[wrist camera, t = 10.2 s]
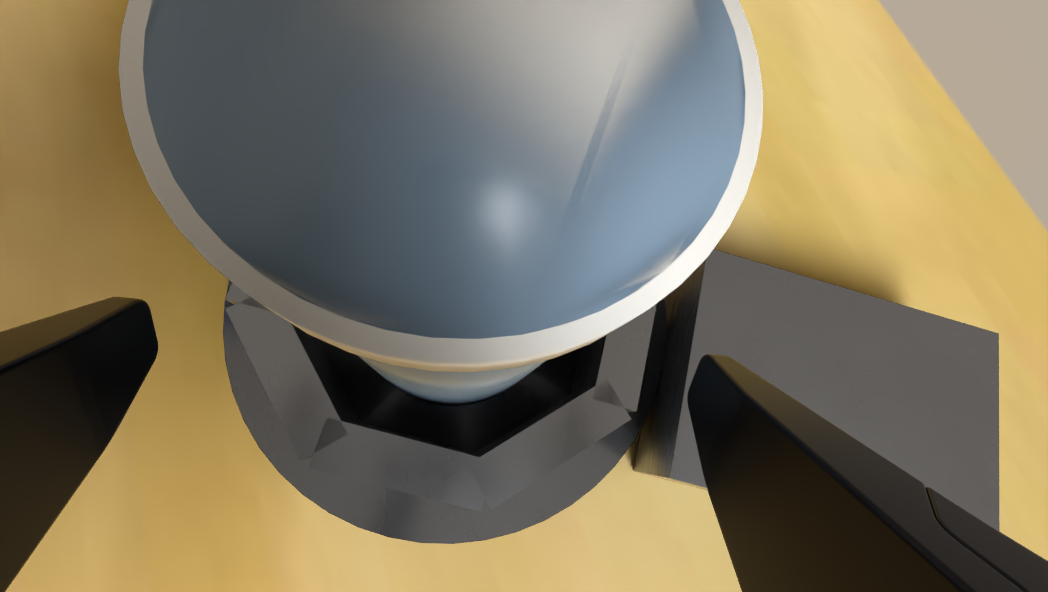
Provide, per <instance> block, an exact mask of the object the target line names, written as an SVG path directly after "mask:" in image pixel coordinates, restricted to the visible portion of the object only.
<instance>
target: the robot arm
mask: <svg viewBox="0 0 1048 592" xmlns="http://www.w3.org/2000/svg"><path fill="white" fill-rule="evenodd" d="M157 352H158V341H157V337H156V333H155V328H154V324H153V320H152V316H151V311H150V308H149V306H148V304H147V303H146V302H145V301H143V300H141V299H134V298H124V297H112V298H108V299H105V300H102V301H98V302H95V303H92V304H89V305H85V306H82V307H79V308H76V309H73V310H69V311H66V312H63V313H60V314H57V315H53V316H50V317H47V318H44V319H41V320H37V321H34V322H31V323H28V324H25V325H21V326H18V327H15V328H12V329H9V330H5V331H2V332H0V592H5V591H6V590H7V588H8V587H9V586H10V584H11V583H12V581H13V580H14V578H15V577H16V576H17V574H18V573H19V571H20V570H21V568H22V567H23V566H24V564H25V563H26V561H27V560H28V558H29V557H30V556H31V554H32V553H33V551H34V550H35V548H36V547H37V546H38V544H39V543H40V541H41V540H42V538H43V537H44V536H45V534H46V533H47V531H48V530H49V528H50V527H51V526H52V524H53V523H54V521H55V520H56V519H57V517H58V516H59V514H60V513H61V511H62V510H63V509H64V507H65V506H66V504H67V503H68V501H69V500H70V499H71V497H72V496H73V494H74V493H75V491H76V490H77V489H78V487H79V486H80V484H81V483H82V481H83V480H84V479H85V477H86V476H87V474H88V473H89V471H90V470H91V469H92V467H93V466H94V464H95V463H96V461H97V460H98V459H99V457H100V456H101V454H102V453H103V451H104V450H105V448H106V447H107V445H108V444H109V442H110V440H111V439H112V437H113V435H114V434H115V432H116V430H117V429H118V427H119V425H120V423H121V421H122V420H123V418H124V416H125V414H126V412H127V410H128V409H129V407H130V405H131V403H132V401H133V399H134V398H135V396H136V394H137V392H138V390H139V388H140V387H141V385H142V383H143V381H144V379H145V377H146V376H147V374H148V372H149V370H150V368H151V366H152V365H153V363H154V361H155V359H156V356H157ZM687 403H688V408H689V413H690V417H691V422H692V426H693V431H694V436H695V440H696V445H697V449H698V454H699V458H700V463H701V468H702V472H703V476H704V479H705V483H706V486H707V489H708V493H709V496H710V499H711V502H712V505H713V508H714V511H715V513H716V516H717V519H718V522H719V525H720V528H721V531H722V534H723V537H724V540H725V543H726V546H727V549H728V552H729V555H730V558H731V561H732V564H733V566H734V569H735V572H736V575H737V578H738V581H739V584H740V587H741V590H742V592H1048V561H1047V560H1045V559H1044V558H1042V557H1040V556H1039V555H1037V554H1035V553H1034V552H1032V551H1030V550H1029V549H1027V548H1025V547H1024V546H1022V545H1020V544H1019V543H1017V542H1015V541H1014V540H1012V539H1011V538H1009V537H1007V536H1006V535H1004V534H1002V533H1001V532H999V531H997V530H996V529H994V528H993V527H991V526H989V525H988V524H986V523H985V522H983V521H982V520H980V519H978V518H977V517H975V516H974V515H972V514H971V513H969V512H967V511H966V510H964V509H963V508H961V507H960V506H958V505H956V504H955V503H953V502H952V501H950V500H949V499H947V498H946V497H944V496H943V495H941V494H940V493H938V492H937V491H935V490H934V489H932V488H930V487H925V485H924V483H923V482H921V481H919V480H918V479H916V478H915V477H913V476H912V475H910V474H909V473H907V472H906V471H904V470H903V469H901V468H900V467H898V466H896V465H895V464H893V463H892V462H890V461H889V460H887V459H886V458H884V457H883V456H881V455H880V454H878V453H877V452H875V451H873V450H872V449H870V448H869V447H867V446H866V445H864V444H863V443H861V442H860V441H858V440H857V439H855V438H854V437H852V436H851V435H849V434H847V433H846V432H844V431H843V430H841V429H840V428H838V427H837V426H835V425H834V424H832V423H831V422H829V421H828V420H826V419H824V418H823V417H821V416H820V415H818V414H817V413H815V412H814V411H812V410H811V409H809V408H808V407H806V406H805V405H803V404H801V403H800V402H798V401H797V400H795V399H794V398H792V397H791V396H789V395H788V394H786V393H785V392H783V391H782V390H780V389H779V388H777V387H775V386H774V385H772V384H771V383H769V382H768V381H766V380H765V379H763V378H762V377H760V376H759V375H757V374H756V373H754V372H752V371H751V370H749V369H748V368H746V367H745V366H743V365H742V364H740V363H739V362H737V361H736V360H734V359H733V358H731V357H729V356H726V355H717V354H706V355H704V356H703V357H702V358H701V359H700V361H699V364H698V366H697V369H696V372H695V374H694V377H693V379H692V382H691V385H690V387H689V390H688V395H687Z"/></svg>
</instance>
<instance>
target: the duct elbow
mask: <svg viewBox="0 0 1048 592" xmlns="http://www.w3.org/2000/svg"><path fill="white" fill-rule="evenodd" d="M119 79H120V90H121V100H122V110H123V114H124V117H125V121H126V125H127V128H128V132H129V136H130V139H131V143H132V147H133V150H134V153H135V155H136V157H137V159H138V161H139V164H140V166H141V168H142V170H143V172H144V175H145V177H146V179H147V181H148V183H149V186H150V188H151V190H152V191H153V193H154V194H155V196H156V197H157V199H158V200H159V202H160V204H161V205H162V207H163V208H164V210H165V211H166V213H167V214H168V216H169V217H170V219H171V220H172V222H173V223H174V225H175V226H176V228H177V229H178V230H179V231H180V232H181V233H182V234H183V235H184V236H185V238H186V239H187V240H188V241H189V242H190V243H191V244H192V245H193V246H194V248H195V249H196V250H197V251H198V252H199V253H200V254H201V255H202V256H203V257H204V259H205V260H206V261H207V262H208V263H209V264H211V265H212V266H213V267H214V268H215V269H217V270H218V271H219V272H220V273H221V274H223V275H224V276H225V277H226V278H228V279H229V280H230V281H231V282H232V283H234V284H235V285H236V286H237V287H238V288H240V289H241V290H242V291H243V292H244V293H246V294H247V295H249V296H250V297H252V298H253V299H255V300H256V301H258V302H259V303H261V304H262V305H263V306H265V307H266V308H268V309H269V310H271V311H272V312H274V313H275V314H277V315H278V316H280V317H282V318H283V319H285V320H287V321H288V322H290V323H291V324H293V325H295V326H296V327H298V328H300V329H301V330H303V331H304V332H306V333H308V334H309V335H311V336H313V337H316V338H318V339H320V340H322V341H325V342H327V343H329V344H331V345H334V346H336V347H338V348H340V349H343V350H345V351H347V352H349V353H353V354H356V355H358V356H359V357H360V358H361V359H362V360H364V361H365V362H366V363H367V364H368V365H370V366H371V367H372V368H373V369H374V370H376V371H377V372H378V373H379V374H380V375H382V376H383V377H384V378H385V379H386V380H387V381H389V382H390V383H391V384H392V385H394V386H395V387H396V388H397V389H399V390H400V391H402V392H404V393H405V394H407V395H409V396H411V397H413V398H415V399H418V400H420V401H423V402H427V403H430V404H435V405H442V406H465V405H472V404H476V403H480V402H484V401H486V400H489V399H491V398H494V397H496V396H498V395H500V394H501V393H503V392H505V391H507V390H508V389H509V388H511V387H512V386H513V385H515V384H516V383H517V382H519V381H520V380H521V379H523V378H524V377H525V376H527V375H528V374H529V373H530V372H532V371H533V370H534V369H536V368H537V367H538V366H540V365H541V364H542V363H544V362H545V361H546V360H549V359H553V358H556V357H558V356H561V355H564V354H566V353H569V352H571V351H574V350H576V349H579V348H581V347H584V346H586V345H589V344H591V343H593V342H595V341H596V340H598V339H600V338H602V337H603V336H605V335H607V334H609V333H611V332H612V331H614V330H616V329H618V328H619V327H621V326H623V325H625V324H626V323H628V322H629V321H631V320H633V319H634V318H636V317H637V316H639V315H640V314H642V313H644V312H645V311H647V310H648V309H650V308H651V307H652V306H654V305H655V304H656V303H658V302H659V301H660V300H662V299H663V298H664V297H665V296H667V295H668V294H669V293H671V292H672V291H673V290H675V289H676V288H677V287H679V286H680V285H681V284H682V283H683V282H684V281H685V280H686V279H687V278H688V277H689V276H690V275H691V274H692V273H693V272H694V271H695V270H696V269H697V268H698V267H699V265H700V264H701V263H702V262H703V261H704V260H705V259H706V258H707V257H708V256H709V255H710V253H711V252H712V250H713V249H714V248H715V246H716V245H717V243H718V242H719V241H720V239H721V238H722V236H723V235H724V234H725V232H726V231H727V229H728V228H729V227H730V225H731V223H732V221H733V219H734V217H735V215H736V213H737V211H738V209H739V207H740V205H741V203H742V201H743V199H744V197H745V195H746V192H747V189H748V186H749V183H750V180H751V177H752V174H753V171H754V168H755V165H756V162H757V156H758V150H759V144H760V138H761V132H762V116H763V90H762V82H761V74H760V65H759V59H758V55H757V52H756V48H755V44H754V40H753V36H752V32H751V29H750V26H749V24H748V21H747V19H746V16H745V14H744V11H743V9H742V6H741V4H740V1H739V0H129V1H128V5H127V10H126V14H125V18H124V22H123V26H122V30H121V43H120V57H119Z"/></svg>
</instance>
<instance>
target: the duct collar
mask: <svg viewBox="0 0 1048 592" xmlns="http://www.w3.org/2000/svg"><path fill="white" fill-rule="evenodd" d="M223 337H224V349H225V361H226V366H227V370H228V375H229V379H230V383H231V388H232V392H233V394H234V397H235V399H236V402H237V405H238V407H239V410H240V412H241V415H242V417H243V420H244V422H245V424H246V425H247V427H248V429H249V430H250V432H251V434H252V436H253V437H254V439H255V441H256V443H257V444H258V446H259V448H260V449H261V450H262V452H263V453H264V454H265V455H266V457H267V458H268V459H269V460H270V462H271V463H272V464H273V465H274V467H275V468H276V469H277V470H278V472H279V473H280V474H281V475H282V476H283V477H284V478H286V479H287V480H288V481H289V482H290V483H291V484H292V485H293V486H294V487H295V488H296V489H297V490H298V491H299V492H300V493H302V494H303V495H304V496H306V497H307V498H308V499H310V500H311V501H313V502H314V503H316V504H317V505H319V506H320V507H321V508H323V509H324V510H326V511H327V512H329V513H331V514H333V515H335V516H337V517H339V518H341V519H343V520H345V521H347V522H349V523H351V524H353V525H355V526H357V527H359V528H362V529H365V530H368V531H371V532H375V533H378V534H381V535H384V536H387V537H391V538H397V539H402V540H408V541H414V542H420V543H447V544H455V543H464V542H473V541H482V540H487V539H491V538H495V537H499V536H503V535H507V534H511V533H515V532H518V531H520V530H522V529H525V528H527V527H530V526H532V525H535V524H537V523H540V522H542V521H544V520H546V519H548V518H550V517H551V516H553V515H555V514H557V513H558V512H560V511H562V510H563V509H565V508H567V507H569V506H570V505H572V504H573V503H574V502H576V501H577V500H578V499H580V498H581V497H582V496H583V495H585V494H586V493H587V492H589V491H590V490H591V489H592V488H594V487H595V486H596V485H597V484H598V483H599V482H600V481H601V480H602V479H603V478H604V477H605V476H606V475H607V474H608V473H609V472H610V471H611V470H612V469H613V468H614V467H615V466H616V464H617V463H618V462H619V460H620V459H621V457H622V456H623V455H624V453H625V452H626V451H627V449H628V448H629V447H630V445H631V444H632V443H633V441H634V439H635V438H636V436H637V434H638V432H639V430H640V429H641V433H640V439H639V444H638V449H637V455H636V460H635V466H634V471H636V472H640V473H644V474H648V475H651V476H655V477H659V478H663V479H666V480H670V481H674V482H678V483H682V484H685V485H689V486H693V487H697V488H700V489H704V490H708V489H707V486H706V483H705V479H704V476H703V472H702V468H701V463H700V458H699V454H698V449H697V445H696V440H695V436H694V431H693V426H692V422H691V417H690V413H689V408H688V403H687V395H688V390H689V387H690V385H691V382H692V379H693V377H694V374H695V372H696V369H697V366H698V364H699V361H700V359H701V358H702V357H703V356H704V355H706V354H717V355H726V356H729V357H731V358H733V359H734V360H736V361H737V362H739V363H740V364H742V365H743V366H745V367H746V368H748V369H749V370H751V371H752V372H754V373H756V374H757V375H759V376H760V377H762V378H763V379H765V380H766V381H768V382H769V383H771V384H772V385H774V386H775V387H777V388H779V389H780V390H782V391H783V392H785V393H786V394H788V395H789V396H791V397H792V398H794V399H795V400H797V401H798V402H800V403H801V404H803V405H805V406H806V407H808V408H809V409H811V410H812V411H814V412H815V413H817V414H818V415H820V416H821V417H823V418H824V419H826V420H828V421H829V422H831V423H832V424H834V425H835V426H837V427H838V428H840V429H841V430H843V431H844V432H846V433H847V434H849V435H851V436H852V437H854V438H855V439H857V440H858V441H860V442H861V443H863V444H864V445H866V446H867V447H869V448H870V449H872V450H873V451H875V452H877V453H878V454H880V455H881V456H883V457H884V458H886V459H887V460H889V461H890V462H892V463H893V464H895V465H896V466H898V467H900V468H901V469H903V470H904V471H906V472H907V473H909V474H910V475H912V476H913V477H915V478H916V479H918V480H919V481H921V482H923V483H924V485H925V487H930V488H932V489H934V490H935V491H937V492H938V493H940V494H941V495H943V496H944V497H946V498H947V499H949V500H950V501H952V502H953V503H955V504H956V505H958V506H960V507H961V508H963V509H964V510H966V511H967V512H969V513H971V514H972V515H974V516H975V517H977V518H978V519H980V520H982V521H983V522H985V523H986V524H988V525H989V526H991V527H993V528H994V529H996V530H997V531H999V334H998V333H995V332H992V331H988V330H985V329H981V328H978V327H975V326H971V325H968V324H965V323H961V322H958V321H954V320H951V319H948V318H944V317H941V316H938V315H934V314H931V313H927V312H924V311H921V310H917V309H914V308H911V307H907V306H904V305H900V304H897V303H894V302H890V301H887V300H884V299H880V298H877V297H873V296H870V295H867V294H863V293H860V292H856V291H853V290H850V289H846V288H843V287H840V286H836V285H833V284H829V283H826V282H823V281H819V280H816V279H813V278H809V277H806V276H802V275H799V274H796V273H792V272H789V271H786V270H782V269H779V268H775V267H772V266H769V265H765V264H762V263H758V262H755V261H752V260H748V259H745V258H742V257H738V256H735V255H731V254H728V253H725V252H721V251H718V250H715V249H713V250H712V252H711V253H710V255H709V256H708V257H707V258H706V259H705V260H704V261H703V262H702V263H701V264H700V265H699V267H698V268H697V269H696V270H695V271H694V272H693V273H692V274H691V275H690V276H689V277H688V278H687V279H686V280H685V281H684V282H683V283H682V284H681V285H680V286H679V287H677V288H676V289H675V290H673V291H672V292H671V293H669V294H668V295H667V296H666V297H665V299H664V298H663V299H662V300H660V301H659V302H658V303H656V304H655V305H654V306H652V307H651V308H650V309H648V310H647V311H645V312H644V313H642V314H640V315H639V316H637V317H636V318H634V319H633V320H631V321H629V322H628V323H626V324H625V325H623V326H621V327H619V328H618V329H616V330H614V331H612V332H611V333H609V334H607V335H605V336H603V337H602V338H600V339H598V340H596V341H595V342H593V343H591V344H589V345H586V346H584V347H581V348H579V349H576V350H574V351H571V352H569V353H566V354H564V355H561V356H558V357H556V358H553V359H549V360H546V361H545V362H544V363H542V364H541V365H540V366H538V367H537V368H536V369H534V370H533V371H532V372H530V373H529V374H528V375H527V376H525V377H524V378H523V379H521V380H520V381H519V382H517V383H516V384H515V385H513V386H512V387H511V388H509V389H508V390H507V391H505V392H503V393H501V394H500V395H498V396H496V397H494V398H491V399H489V400H486V401H484V402H480V403H476V404H472V405H465V406H442V405H435V404H430V403H427V402H423V401H420V400H418V399H415V398H413V397H411V396H409V395H407V394H405V393H404V392H402V391H400V390H399V389H397V388H396V387H395V386H394V385H392V384H391V383H390V382H389V381H387V380H386V379H385V378H384V377H383V376H382V375H380V374H379V373H378V372H377V371H376V370H374V369H373V368H372V367H371V366H370V365H368V364H367V363H366V362H365V361H364V360H362V359H361V358H360V357H359V356H358V355H356V354H353V353H349V352H347V351H345V350H343V349H340V348H338V347H336V346H334V345H331V344H329V343H327V342H325V341H322V340H320V339H318V338H316V337H313V336H311V335H309V334H308V333H306V332H304V331H303V330H301V329H300V328H298V327H296V326H295V325H293V324H291V323H290V322H288V321H287V320H285V319H283V318H282V317H280V316H278V315H277V314H275V313H274V312H272V311H271V310H269V309H268V308H266V307H265V306H263V305H262V304H261V303H259V302H258V301H256V300H255V299H253V298H252V297H250V296H249V295H247V294H246V293H244V292H243V291H242V290H241V289H240V288H238V287H237V286H236V285H235V284H234V283H232V282H231V281H230V280H229V285H228V290H227V295H226V299H225V309H224V325H223ZM641 427H642V428H641Z"/></svg>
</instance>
